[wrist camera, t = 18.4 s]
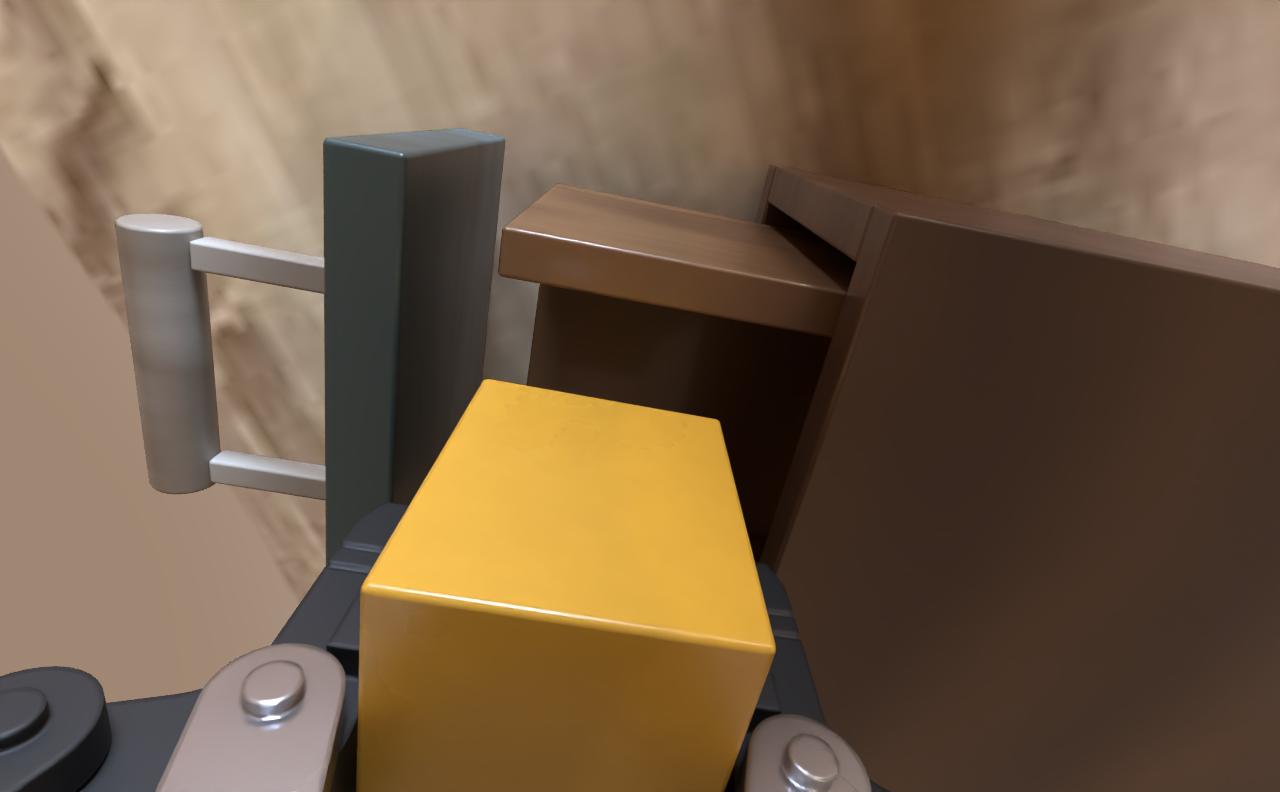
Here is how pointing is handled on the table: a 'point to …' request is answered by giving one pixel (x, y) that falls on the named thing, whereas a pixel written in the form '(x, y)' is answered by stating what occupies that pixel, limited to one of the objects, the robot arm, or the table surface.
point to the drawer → (485, 321)
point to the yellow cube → (563, 607)
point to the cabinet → (1036, 502)
